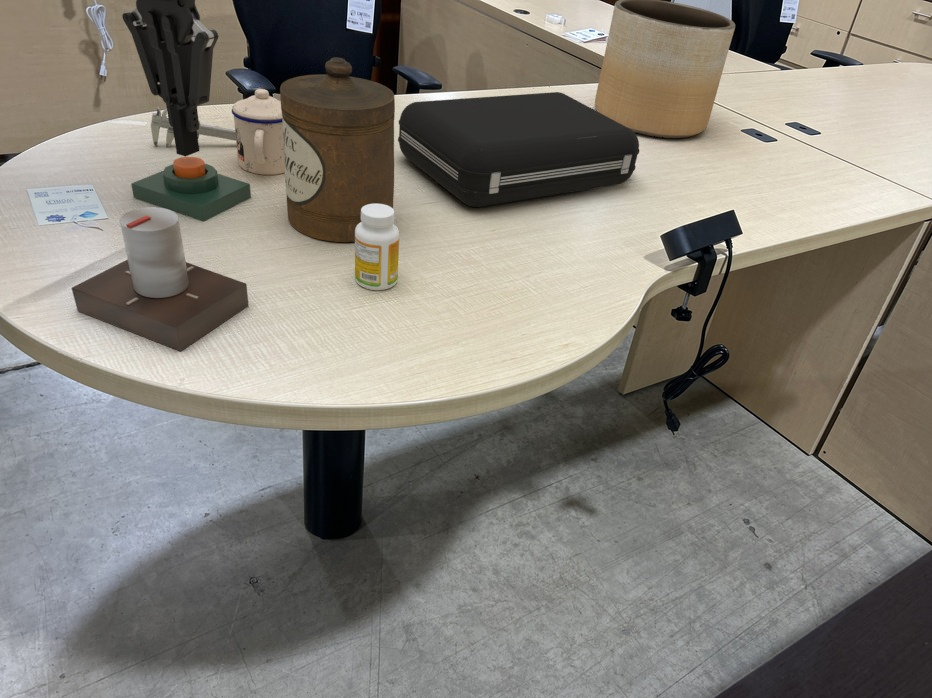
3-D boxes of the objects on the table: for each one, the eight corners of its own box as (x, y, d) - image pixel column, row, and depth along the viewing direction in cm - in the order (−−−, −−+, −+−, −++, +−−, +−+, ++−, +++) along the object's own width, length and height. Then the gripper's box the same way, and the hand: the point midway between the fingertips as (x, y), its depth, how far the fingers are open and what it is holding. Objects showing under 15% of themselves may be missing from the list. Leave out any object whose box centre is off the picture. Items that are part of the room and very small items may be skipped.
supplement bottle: (388, 267, 97) (390, 198, 91) (403, 288, 93) (407, 217, 88) (349, 273, 95) (348, 202, 89) (363, 294, 91) (363, 222, 85)
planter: (724, 144, 157) (759, 33, 144) (615, 138, 151) (640, 22, 137) (677, 105, 176) (704, 4, 163) (578, 98, 170) (597, -7, 156)
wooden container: (281, 199, 109) (270, 40, 95) (379, 196, 114) (383, 45, 101) (295, 246, 98) (286, 75, 85) (403, 240, 103) (411, 79, 90)
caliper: (154, 148, 117) (147, 108, 113) (154, 145, 118) (147, 106, 114) (286, 147, 125) (284, 110, 121) (285, 145, 125) (283, 108, 122)
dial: (160, 267, 84) (148, 199, 79) (200, 282, 83) (190, 214, 78) (121, 288, 80) (106, 217, 75) (162, 303, 78) (149, 233, 73)
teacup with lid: (241, 152, 120) (234, 78, 113) (299, 156, 122) (295, 84, 115) (229, 181, 111) (221, 103, 104) (291, 186, 113) (287, 109, 106)
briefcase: (536, 127, 150) (543, 76, 144) (639, 188, 131) (653, 133, 125) (374, 142, 131) (375, 85, 125) (466, 217, 112) (473, 154, 106)
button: (168, 174, 102) (166, 162, 101) (189, 166, 105) (187, 154, 104) (191, 182, 101) (190, 170, 100) (211, 173, 104) (210, 161, 103)
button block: (133, 198, 103) (128, 170, 100) (184, 176, 111) (181, 150, 108) (203, 222, 100) (200, 194, 98) (251, 197, 108) (248, 171, 105)
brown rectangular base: (77, 311, 81) (70, 286, 79) (152, 270, 89) (148, 247, 87) (180, 351, 77) (176, 326, 75) (248, 305, 86) (246, 282, 84)
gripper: (91, -50, 86) (129, 148, 100) (181, -29, 83) (208, 172, 97) (140, -55, 91) (170, 133, 106) (226, -35, 88) (245, 156, 103)
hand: (188, 152), depth 101 cm, fingers closed
